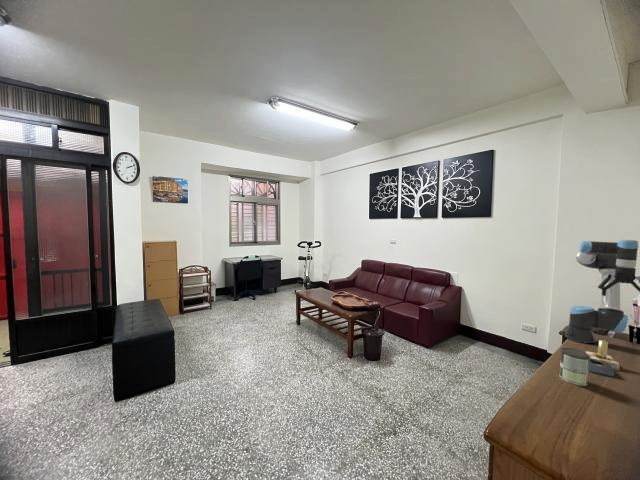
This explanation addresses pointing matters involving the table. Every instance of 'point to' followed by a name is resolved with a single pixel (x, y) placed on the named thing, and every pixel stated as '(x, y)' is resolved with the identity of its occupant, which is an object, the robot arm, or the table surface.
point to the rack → (609, 360)
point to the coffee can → (574, 366)
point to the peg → (602, 349)
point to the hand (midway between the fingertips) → (622, 303)
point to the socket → (600, 367)
